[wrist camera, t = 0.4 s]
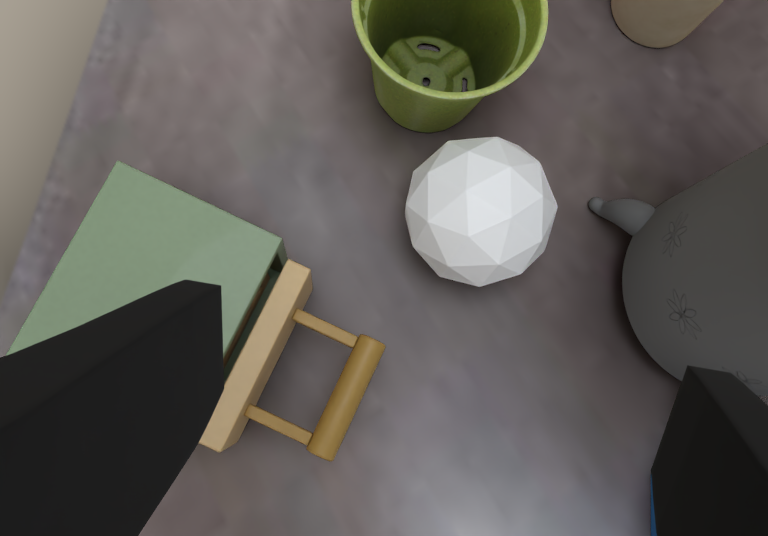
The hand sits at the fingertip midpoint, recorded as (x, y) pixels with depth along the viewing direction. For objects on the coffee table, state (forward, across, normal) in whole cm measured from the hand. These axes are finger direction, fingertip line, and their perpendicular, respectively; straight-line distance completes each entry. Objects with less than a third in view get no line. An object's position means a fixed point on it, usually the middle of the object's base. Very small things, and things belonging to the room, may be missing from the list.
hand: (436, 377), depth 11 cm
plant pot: (+33, +4, +3) cm, 33 cm away
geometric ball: (+28, +1, +10) cm, 30 cm away
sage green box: (+21, +15, +14) cm, 30 cm away
